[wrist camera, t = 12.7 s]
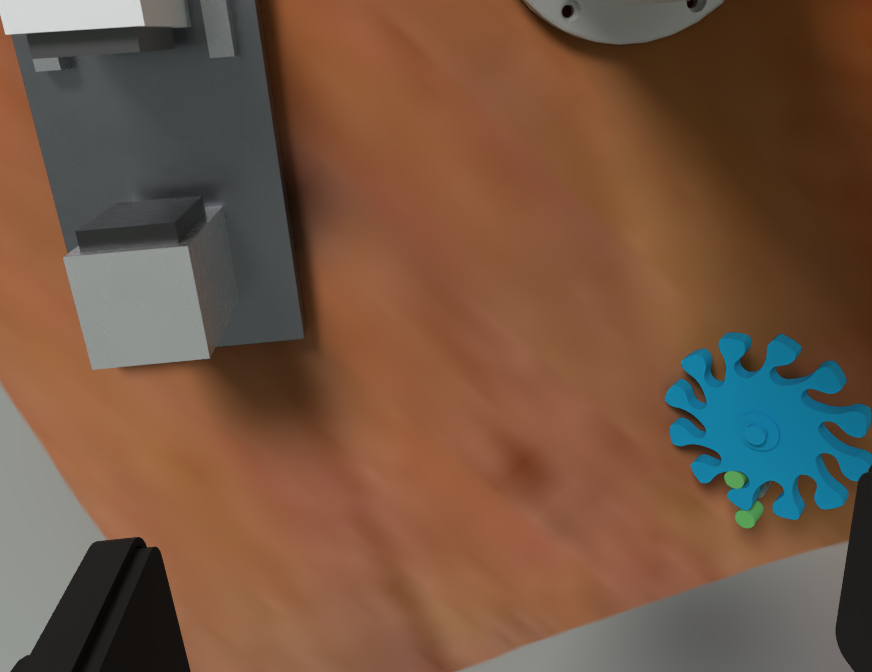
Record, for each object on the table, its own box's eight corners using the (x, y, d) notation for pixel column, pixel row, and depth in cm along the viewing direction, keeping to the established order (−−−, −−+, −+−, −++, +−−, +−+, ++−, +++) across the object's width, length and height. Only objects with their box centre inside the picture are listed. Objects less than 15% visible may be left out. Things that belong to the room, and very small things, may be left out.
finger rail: (236, -160, 31) (189, -225, 23) (306, 327, 39) (289, 403, 31) (-18, -143, 30) (-155, -203, 23) (105, 346, 38) (35, 428, 30)
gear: (677, 312, 38) (898, 388, 33) (725, 276, 42) (930, 338, 37) (642, 486, 44) (826, 576, 38) (688, 439, 48) (860, 515, 42)
